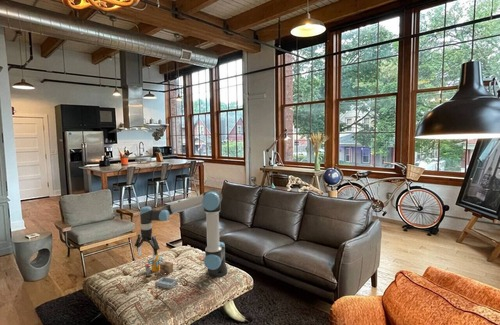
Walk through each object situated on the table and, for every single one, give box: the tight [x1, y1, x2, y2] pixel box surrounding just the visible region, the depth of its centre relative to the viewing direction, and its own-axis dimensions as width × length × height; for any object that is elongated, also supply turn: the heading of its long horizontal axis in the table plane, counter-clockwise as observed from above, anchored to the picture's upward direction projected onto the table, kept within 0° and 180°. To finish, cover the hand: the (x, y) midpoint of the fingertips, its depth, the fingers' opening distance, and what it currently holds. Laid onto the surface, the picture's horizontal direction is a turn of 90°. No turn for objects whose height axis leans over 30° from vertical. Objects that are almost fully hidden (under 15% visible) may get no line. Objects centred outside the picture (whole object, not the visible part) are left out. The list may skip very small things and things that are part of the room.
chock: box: [159, 260, 174, 275], centre depth 221 cm, size 8×5×7 cm, turn 68°
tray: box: [155, 276, 179, 290], centre depth 203 cm, size 12×8×3 cm, turn 68°
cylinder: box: [147, 249, 164, 273], centre depth 225 cm, size 12×10×15 cm
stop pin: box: [144, 263, 152, 278], centre depth 210 cm, size 4×4×11 cm
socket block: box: [141, 273, 155, 283], centre depth 211 cm, size 6×6×2 cm
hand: (147, 257), depth 209 cm, fingers open, 13 cm apart
